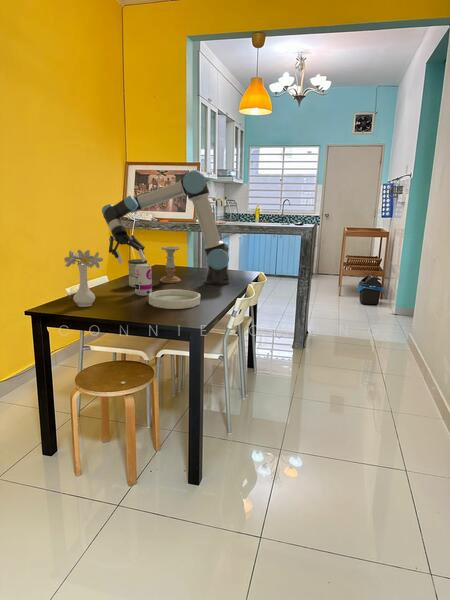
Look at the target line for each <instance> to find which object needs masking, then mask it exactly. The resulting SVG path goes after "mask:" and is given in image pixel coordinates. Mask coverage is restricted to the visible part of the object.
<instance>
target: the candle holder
mask: <svg viewBox="0 0 450 600" xmlns="http://www.w3.org/2000/svg"><path fill="white" fill-rule="evenodd" d="M161 250H163V251H165V253H167V256H166V257H165V258H166V264H165V272H166V275H164V276H162V277H161V278H160V279H159V282H160V283H163V284H179V283H181V281H182V279H181V278H179V277H178V276H175V272H176V269H175V267H176V264H175V256H174V253H175V252H176V251H179V250H180V247H178V246H162V247H161Z"/></svg>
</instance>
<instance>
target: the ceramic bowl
mask: <svg viewBox="0 0 450 600" xmlns="http://www.w3.org/2000/svg"><path fill="white" fill-rule="evenodd" d="M148 304H149V305H150V306H152V307H155V308H161V309H166V310H168V309H177V310H179V309H182V310H183V309H189V308H195V307H197V306H200V305H201V293H199V292H197V291H194V290H188V289H187V290H186V289H163V290H162V289H161V290H160V289H159V290H156V291H152V293H150V295H148Z"/></svg>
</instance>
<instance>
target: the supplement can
mask: <svg viewBox="0 0 450 600" xmlns="http://www.w3.org/2000/svg"><path fill="white" fill-rule="evenodd" d="M152 273H153V271H152V266H151V264H149V263H147V264H137V265H136V267H135V287H134V288H135V289H134V291H135V294H136V295H137V296H149V295H150V293H152V292H153V281H152V280H153V279H152V278H153V277H152V276H153V275H152Z"/></svg>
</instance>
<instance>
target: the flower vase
mask: <svg viewBox="0 0 450 600" xmlns="http://www.w3.org/2000/svg"><path fill="white" fill-rule="evenodd" d="M90 254H91V253H90V250H89V249H87V250H85V251H84V252H83V251H82V250H81V249H77V252H75V253H74V251H72V250H69V251H68V256H66V257H64V259H63V260H64V262H65V263H66V264H65V265H64V267H65V268H69V267H70V266H71V265H75V264H76V263H77V264H76V265H77V268H78V271H79V286H78V289H77V292H75V294H74V295H73V298H72V300H73V301H74V303H76V304H77V307H81V308H88V307H91V306H93V303H94V302H95V300H96V296H95V294H94V292H93V291H91V290H90V287H89V283H88V275H87V274H88V273H87V271H88V268H89V269H92V267H96V268H97V269H99V268H100V263H101V262H103V261H104V258H103V257H99V251H97V252H96V253H95V254H94V255H90Z"/></svg>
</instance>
